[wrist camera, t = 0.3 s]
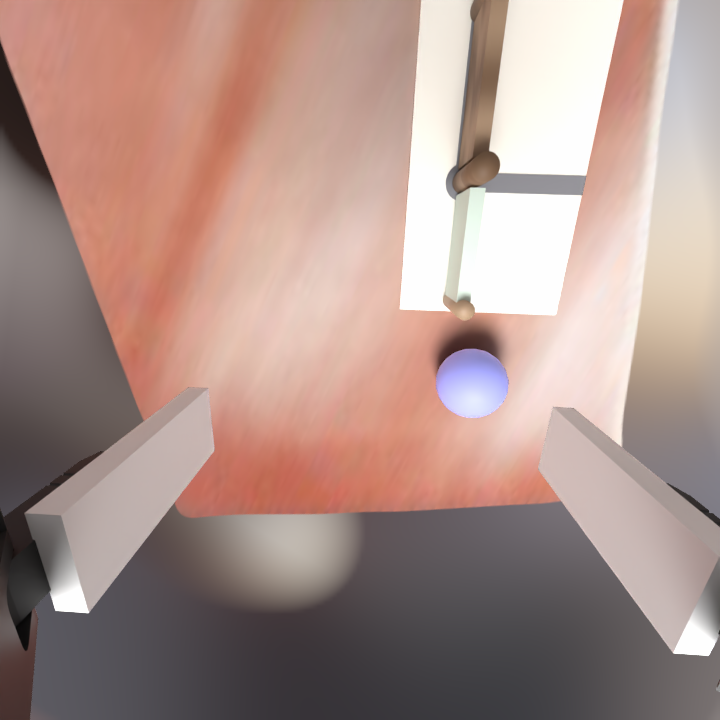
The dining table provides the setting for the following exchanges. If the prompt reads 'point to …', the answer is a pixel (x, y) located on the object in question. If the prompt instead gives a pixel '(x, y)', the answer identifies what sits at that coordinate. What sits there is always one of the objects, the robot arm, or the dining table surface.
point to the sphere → (472, 383)
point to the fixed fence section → (481, 95)
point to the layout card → (506, 149)
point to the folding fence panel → (464, 252)
